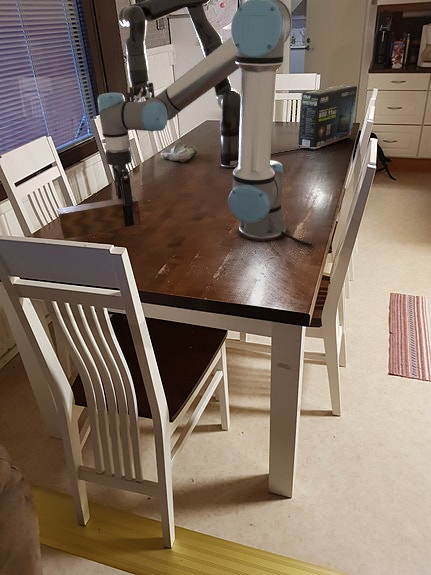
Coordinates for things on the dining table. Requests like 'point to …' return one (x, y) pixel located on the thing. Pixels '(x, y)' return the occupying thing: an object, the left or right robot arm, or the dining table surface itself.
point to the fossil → (179, 152)
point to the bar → (95, 217)
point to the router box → (326, 115)
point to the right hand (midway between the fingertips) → (127, 221)
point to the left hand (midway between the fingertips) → (142, 113)
